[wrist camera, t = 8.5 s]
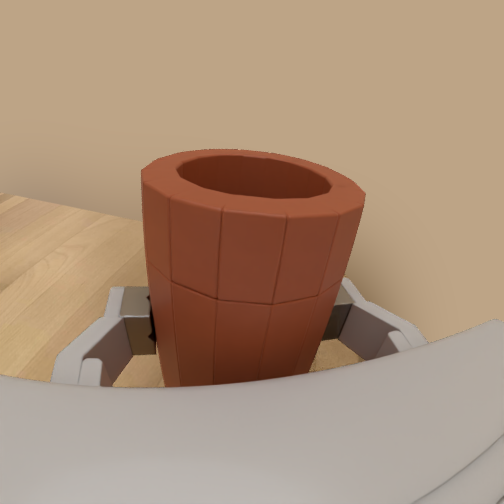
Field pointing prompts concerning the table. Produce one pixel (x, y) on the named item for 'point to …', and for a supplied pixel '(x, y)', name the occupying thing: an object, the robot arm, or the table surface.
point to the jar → (243, 261)
